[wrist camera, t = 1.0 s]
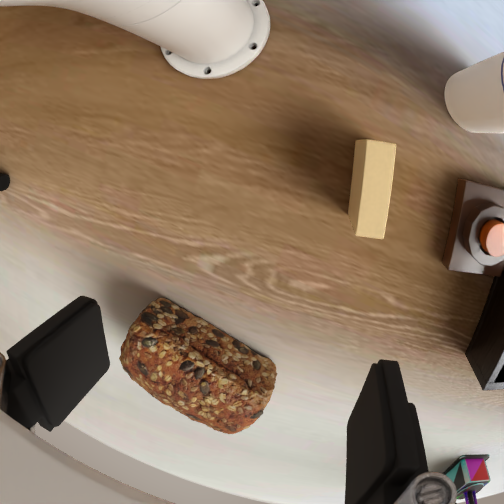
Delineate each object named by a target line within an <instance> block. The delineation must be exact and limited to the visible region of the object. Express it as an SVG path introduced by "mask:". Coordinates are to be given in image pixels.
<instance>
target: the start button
mask: <svg viewBox="0 0 504 504" xmlns="http://www.w3.org/2000/svg"><path fill="white" fill-rule="evenodd" d="M479 241H480V245H481V247H482V248H483V249H484V250H485V251H486V252H488V253H489V254H490V255H491V256H493V257H500V256H502V255H504V223H502V222H500V221H499V220H496V219H491V220H489V221H487V222H486V223H485V224H484V225H483V226H482V228H481V231H480V235H479Z"/></svg>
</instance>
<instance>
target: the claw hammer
mask: <svg viewBox="0 0 504 504" xmlns="http://www.w3.org/2000/svg"><path fill="white" fill-rule="evenodd" d="M9 184H10V178H9V176H8V175H6V174H2V173H0V191H4V190H6V189H7V188H8V187H9Z"/></svg>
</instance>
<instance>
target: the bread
mask: <svg viewBox="0 0 504 504" xmlns="http://www.w3.org/2000/svg"><path fill="white" fill-rule="evenodd" d="M119 359H120V361H121V364H122V366H123V369H124V370H125V371H126V372H127V373H128V375H129V376H130V378H131V379H132V380H133V381H135V382H137V383H138V384H139V385H140V386H141V387H143V388H144V389H145V390H146V391H147V392H148V393H150V394H151V395H152V396H153V397H155V398H156V399H158V400H159V401H160V402H162V403H163V404H165V405H169V406H171V407H172V408H174V409H175V410H176V411H179V412H180V413H182V414H184V415H186V416H188V417H189V418H190V419H191V420H193V421H197V422H200V423H203V424H206V425H207V426H208V427H212V428H213V429H214V430H217V431H220V432H223V433H228V434H234V433H237V432H240V431H242V430H243V429H246V428H248V427H250V425H251V424H253V423H254V422H255V421H256V420H257V419H258V418H259V417H260V416H261V415H262V414H263V410H264V408H265V407H266V405H267V403H268V402H269V400H270V398H271V395H272V392H273V389H274V384H275V381H276V379H275V378H276V376H277V373H276V366H275V364H274V363H273V362H272V361H271V360H270V359H269V358H264V357H262V356H260V355H258V354H257V353H255V352H254V351H253V350H250V348H248V347H247V346H246V345H244V344H242V343H240V342H239V341H238V340H235V339H234V338H232V337H230V336H229V335H227V334H226V333H224V332H222V331H220V330H219V329H217V328H216V327H214V326H213V325H211V324H210V323H208V322H206V321H204V320H203V319H202V318H199V317H196V316H194V315H193V314H192V313H190V312H187V311H186V310H185V309H183V308H179V307H178V306H177V305H175V304H174V303H172V302H171V301H170V300H168V299H165V298H158V299H157V300H156V301H152V303H151V304H149V305H148V306H147V307H146V309H144V310H143V311H142V312H141V313H140V314H139V317H138V318H137V319H136V321H135V322H133V324H132V325H131V326H130V328H129V330H128V334H127V336H126V339H125V341H124V342H123V344H122V346H121V356H120V358H119Z"/></svg>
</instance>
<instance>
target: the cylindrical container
mask: <svg viewBox="0 0 504 504" xmlns="http://www.w3.org/2000/svg"><path fill="white" fill-rule="evenodd" d="M444 95H445V103H446V107H447V109H448V112H449V114H450V115H451V117H452V118H453V120H454V121H455V122H456V123H457V124H458V125H459V126H460V127H461V128H463V129H464V130H467V131H469V132H473V133H504V52H502V53H500V54H497V55H495V56H493V57H490V58H488V59H486V60H483V61H481V62H479V63H477V64H474V65H472V66H470V67H468V68H465V69H463V70H461V71H459V72H457V73H455V74H453V75H452V76H451V77H450V78H449V80H448V81H447V83H446V86H445V92H444Z"/></svg>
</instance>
